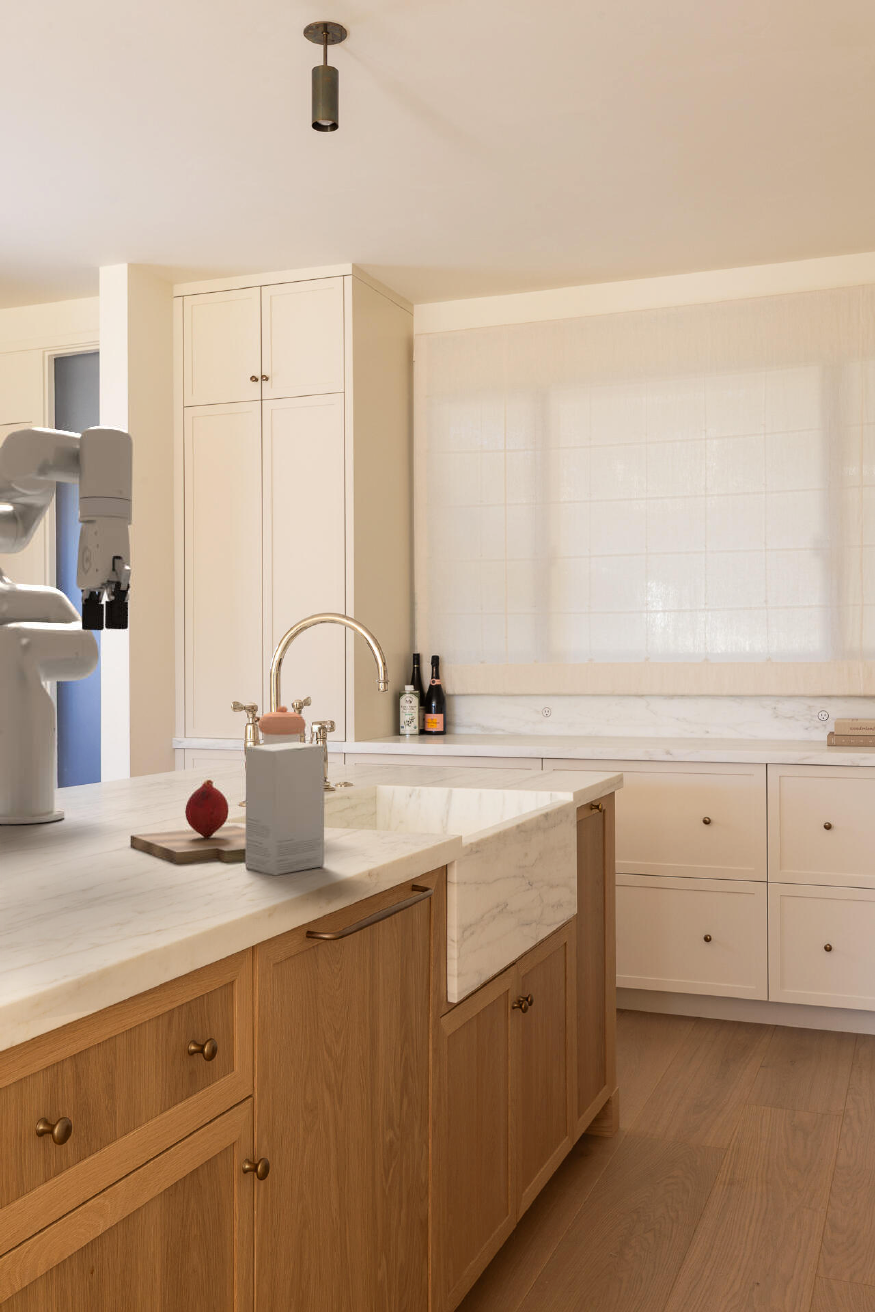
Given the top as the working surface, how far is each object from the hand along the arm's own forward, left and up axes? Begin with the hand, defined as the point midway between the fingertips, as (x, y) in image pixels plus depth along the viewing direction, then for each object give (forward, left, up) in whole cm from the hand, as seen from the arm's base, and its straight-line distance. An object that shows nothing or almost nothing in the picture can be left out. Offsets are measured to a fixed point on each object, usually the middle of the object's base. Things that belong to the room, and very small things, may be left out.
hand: (104, 629), depth 162 cm
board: (+20, +8, -30) cm, 37 cm away
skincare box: (+37, +10, -31) cm, 49 cm away
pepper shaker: (+14, +22, -31) cm, 40 cm away
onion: (+19, +8, -29) cm, 35 cm away
